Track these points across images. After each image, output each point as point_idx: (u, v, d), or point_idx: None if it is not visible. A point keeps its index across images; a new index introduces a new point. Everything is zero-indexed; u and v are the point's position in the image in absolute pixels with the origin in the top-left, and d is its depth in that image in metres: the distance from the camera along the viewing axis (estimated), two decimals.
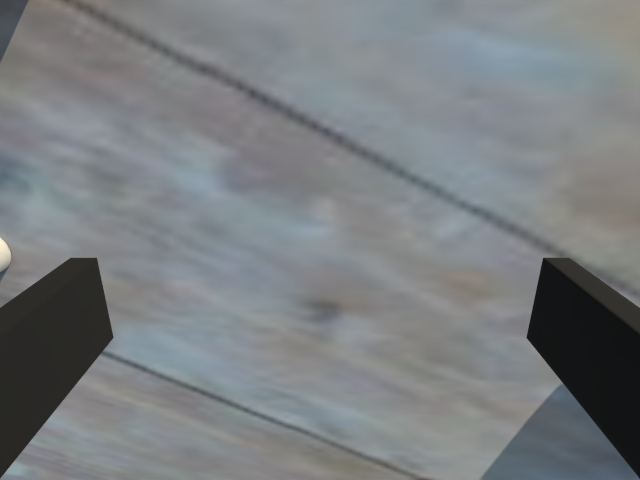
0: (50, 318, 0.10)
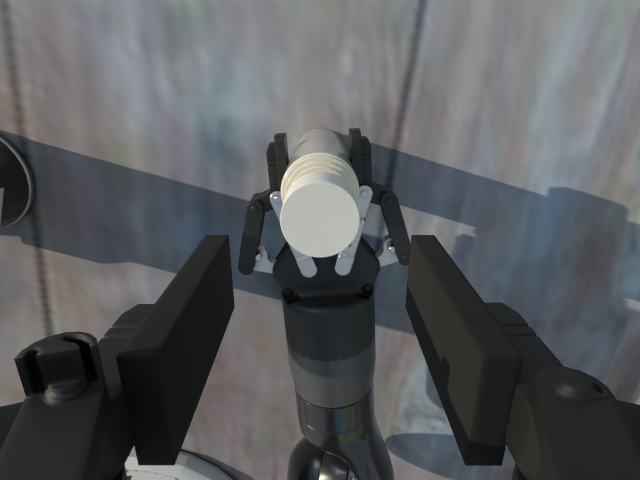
0: (212, 282, 0.12)
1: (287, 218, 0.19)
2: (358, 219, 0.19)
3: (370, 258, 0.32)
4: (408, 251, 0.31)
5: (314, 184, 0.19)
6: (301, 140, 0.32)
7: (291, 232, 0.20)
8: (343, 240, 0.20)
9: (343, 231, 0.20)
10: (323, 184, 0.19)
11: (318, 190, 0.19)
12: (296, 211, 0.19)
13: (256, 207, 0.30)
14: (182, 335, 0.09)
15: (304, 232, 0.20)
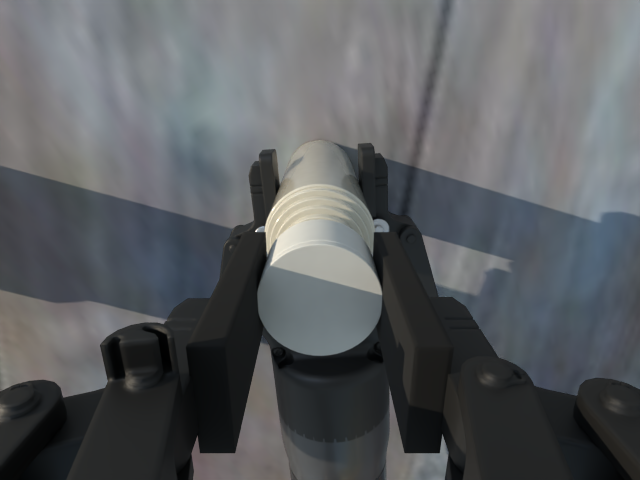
0: (256, 277, 0.12)
1: (268, 299, 0.12)
2: (381, 300, 0.12)
3: None
4: None
5: (311, 248, 0.12)
6: (296, 157, 0.25)
7: (274, 320, 0.12)
8: (356, 331, 0.13)
9: (356, 318, 0.12)
10: (325, 248, 0.12)
11: (317, 257, 0.12)
12: (282, 289, 0.12)
13: None
14: (239, 327, 0.09)
15: (295, 319, 0.12)
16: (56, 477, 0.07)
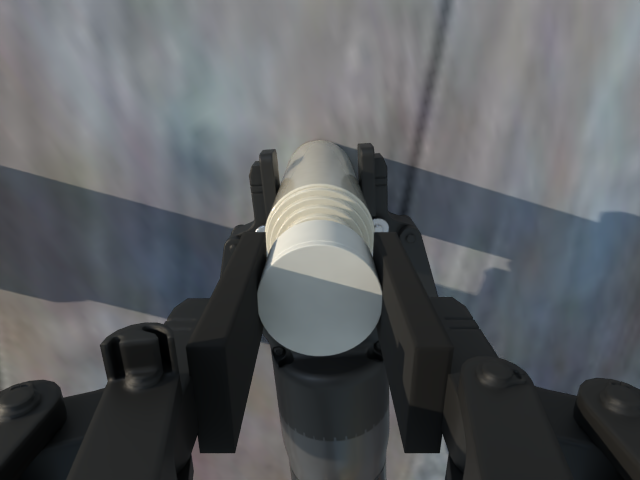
0: (256, 277, 0.12)
1: (324, 346, 0.13)
2: (305, 248, 0.12)
3: None
4: None
5: (263, 319, 0.12)
6: (296, 157, 0.25)
7: (345, 338, 0.13)
8: (346, 264, 0.12)
9: (331, 267, 0.12)
10: (260, 308, 0.12)
11: (271, 313, 0.12)
12: (311, 337, 0.13)
13: None
14: (239, 327, 0.09)
15: (342, 321, 0.12)
16: (56, 477, 0.07)
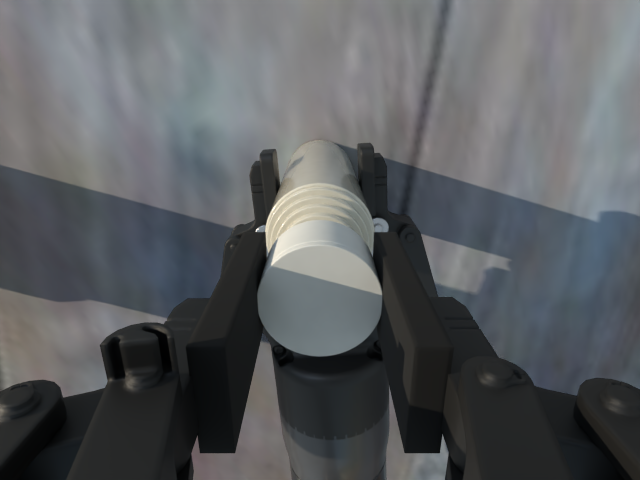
0: (256, 277, 0.12)
1: (370, 291, 0.12)
2: (264, 323, 0.12)
3: None
4: None
5: (346, 348, 0.13)
6: (296, 157, 0.25)
7: (357, 273, 0.12)
8: (272, 287, 0.12)
9: (278, 300, 0.12)
10: (334, 352, 0.13)
11: (338, 342, 0.13)
12: (359, 305, 0.12)
13: None
14: (239, 327, 0.09)
15: (337, 279, 0.12)
16: (56, 477, 0.07)
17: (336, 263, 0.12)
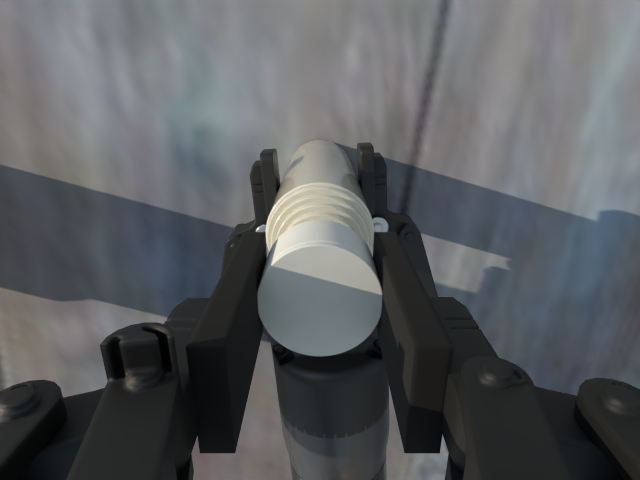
0: (256, 277, 0.12)
1: (296, 260, 0.12)
2: (351, 347, 0.13)
3: None
4: None
5: (369, 270, 0.12)
6: (296, 157, 0.25)
7: (279, 276, 0.12)
8: (310, 345, 0.13)
9: (323, 339, 0.13)
10: (375, 281, 0.12)
11: (362, 279, 0.12)
12: (315, 267, 0.12)
13: None
14: (238, 326, 0.09)
15: (290, 293, 0.12)
16: (56, 477, 0.07)
17: (273, 296, 0.12)
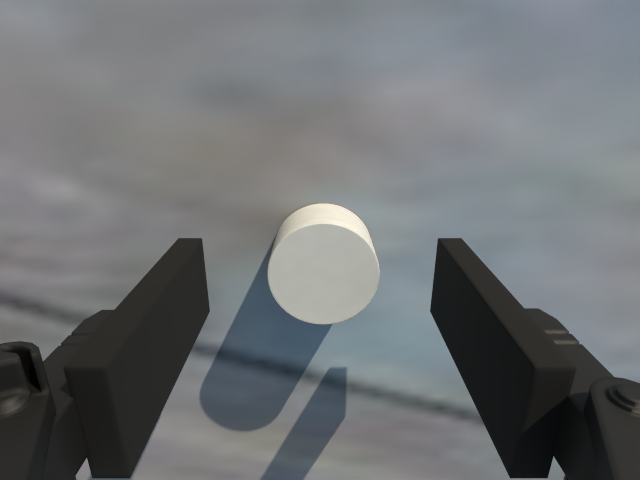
0: (180, 286, 0.11)
1: (302, 237, 0.13)
2: (351, 316, 0.14)
3: None
4: None
5: (366, 246, 0.13)
6: None
7: (287, 252, 0.14)
8: (315, 314, 0.14)
9: (326, 308, 0.14)
10: (372, 256, 0.14)
11: (361, 254, 0.14)
12: (318, 243, 0.13)
13: None
14: (139, 342, 0.09)
15: (297, 266, 0.14)
16: None
17: (282, 270, 0.14)
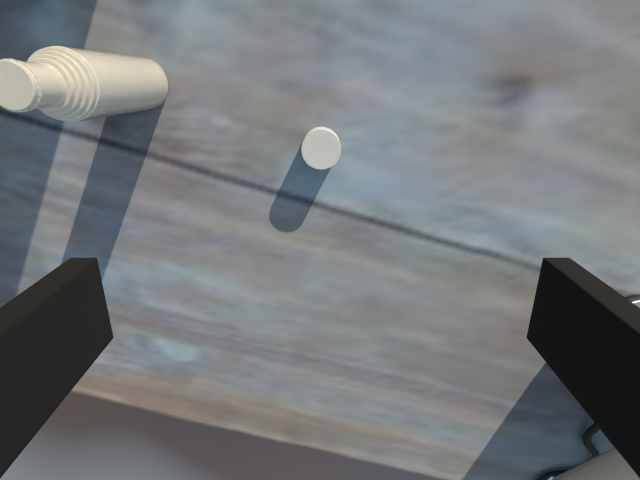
0: (51, 318, 0.10)
1: (314, 135, 0.39)
2: (331, 166, 0.40)
3: None
4: None
5: (336, 138, 0.39)
6: (146, 70, 0.35)
7: (308, 140, 0.39)
8: (318, 165, 0.40)
9: (322, 162, 0.40)
10: (338, 141, 0.39)
11: (334, 141, 0.39)
12: (319, 137, 0.39)
13: None
14: None
15: (311, 146, 0.39)
16: None
17: (306, 147, 0.39)
